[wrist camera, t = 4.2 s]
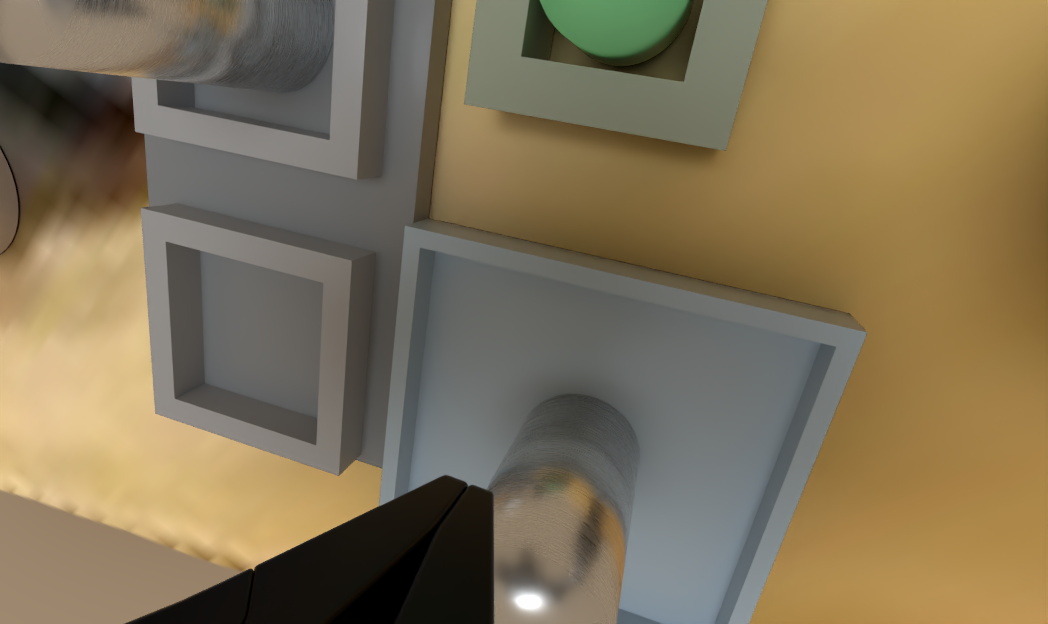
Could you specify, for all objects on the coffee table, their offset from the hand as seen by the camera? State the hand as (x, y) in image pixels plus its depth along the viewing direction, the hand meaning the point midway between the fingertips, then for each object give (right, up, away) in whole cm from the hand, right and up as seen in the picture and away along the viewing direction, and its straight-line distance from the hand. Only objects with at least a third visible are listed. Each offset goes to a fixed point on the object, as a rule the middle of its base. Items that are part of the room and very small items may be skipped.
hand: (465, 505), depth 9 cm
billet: (+3, -2, +11) cm, 12 cm away
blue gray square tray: (+3, -2, +12) cm, 12 cm away
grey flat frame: (-8, +8, +12) cm, 16 cm away
